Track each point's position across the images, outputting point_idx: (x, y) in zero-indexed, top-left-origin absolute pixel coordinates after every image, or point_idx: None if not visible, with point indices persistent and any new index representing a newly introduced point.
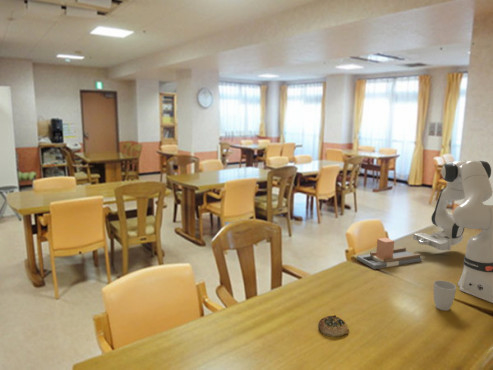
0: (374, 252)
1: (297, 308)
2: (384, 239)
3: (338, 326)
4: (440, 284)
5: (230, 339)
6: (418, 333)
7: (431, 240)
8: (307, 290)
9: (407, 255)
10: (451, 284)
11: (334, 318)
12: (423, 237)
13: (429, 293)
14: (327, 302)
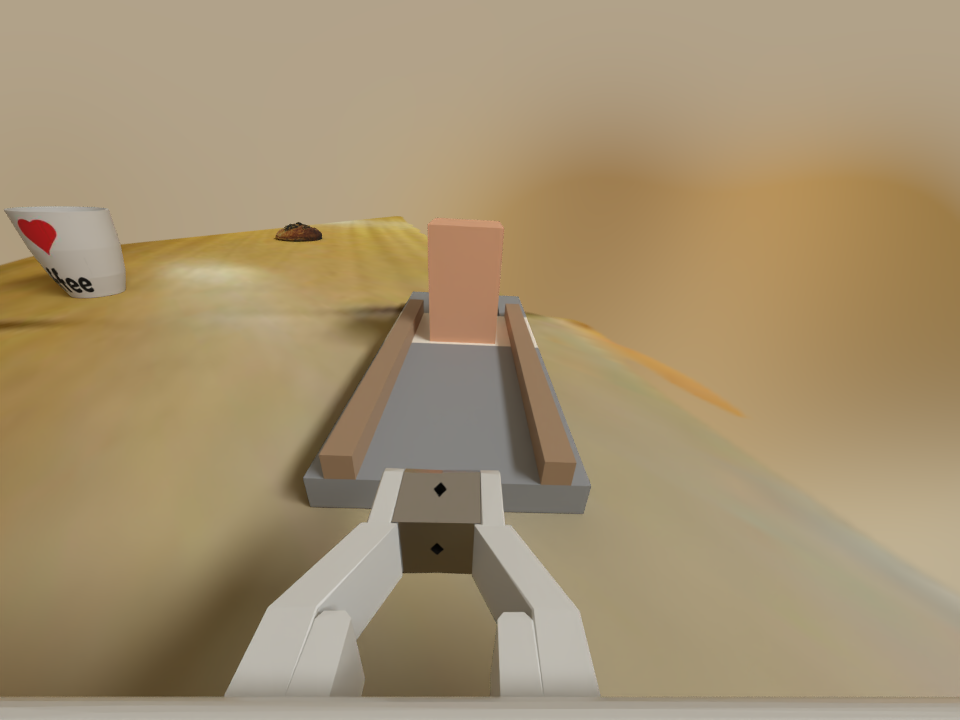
0: (510, 309)
1: (371, 239)
2: (476, 223)
3: (285, 226)
4: (81, 227)
5: (366, 225)
6: (165, 254)
7: (116, 704)
8: (407, 248)
9: (387, 370)
10: (24, 216)
11: (298, 224)
12: (595, 709)
13: (153, 309)
14: (355, 247)
